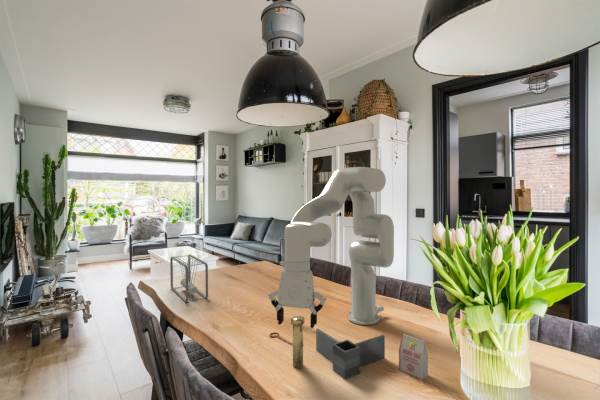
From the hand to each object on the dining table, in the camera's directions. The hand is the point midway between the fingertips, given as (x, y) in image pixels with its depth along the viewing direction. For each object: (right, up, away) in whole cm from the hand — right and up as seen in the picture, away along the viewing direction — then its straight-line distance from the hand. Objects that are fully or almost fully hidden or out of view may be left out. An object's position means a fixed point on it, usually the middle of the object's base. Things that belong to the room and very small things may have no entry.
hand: (296, 324), depth 92 cm
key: (-3, -13, +17) cm, 21 cm away
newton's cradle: (-56, -12, +69) cm, 90 cm away
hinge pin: (0, -12, +1) cm, 12 cm away
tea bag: (+33, -13, -3) cm, 35 cm away
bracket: (+16, -12, +5) cm, 21 cm away
